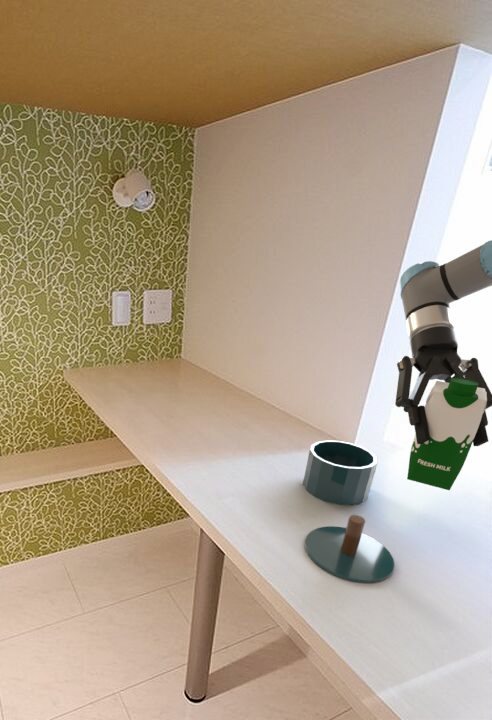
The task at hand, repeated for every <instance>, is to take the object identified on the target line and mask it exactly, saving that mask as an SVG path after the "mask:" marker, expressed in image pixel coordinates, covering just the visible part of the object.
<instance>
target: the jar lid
mask: <svg viewBox="0 0 492 720" xmlns="http://www.w3.org/2000/svg"><path fill="white" fill-rule="evenodd" d="M365 524H366V519H365V518H364V517H363V516H361V515H357V514H351V515H349V517H348V519H347V523H346V527H343V526H333V525H332V526H331V525H330V526H320V527H317V528H315V529H313V530H311V531H310V532H309V533H308V534H307V535H306V537H305V540H304V549H305V552H306V553H307V556H308V557H309V558H310V559H311V560H312V562H313V563H314V564H315V565H317V566H318V567H319V568H321V569H322V570H324V571H325V572H326V573H328V574H331V575H333V576H334V577H337V578H340V579H342V580H346V581H350V582H353V583H361V584H373V583H379V582H382V581H385V580H386V579H388V578H389V577H390V576H391V575H392V574H393V572H394V569H395V560H394V556H393V555H392V554H391V552H390V551H389V549H387V548H386V547H385V546H384V544H382V543H381V542H379V541H378V540H377V539H375V538H374V537H371V536H370V535H368V534H366V533H364V532H363V531H364V528H365Z"/></svg>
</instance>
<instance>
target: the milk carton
mask: <svg viewBox="0 0 492 720" xmlns="http://www.w3.org/2000/svg"><path fill="white" fill-rule="evenodd" d="M486 403H487V392H485V389H484V388H478V383H477V382H476V381H473V380H469V379H463V378H452V379H451V380H450V383H447V382H445V381H442V380H436V381H435V383H434V385H433V387H432V388H431V390H430V392H429V393H428V396H427V398H426V400H425V405H424V407H425V412H426V418H427V424H428V429H429V435H430V440H428V441H426V442H424V443H423V444H417V439H416V433H414V438H413V441H412V443H411V449H410V452H409V462H408V469H407V479H406V480H409V481H412V482H416V483H420V484H422V485H423V484H424V485H427V486H430V487H435V488H438V489H442V490H447V491H450V490H451V489H452V487H453V485H454V483H455V481H456V480H457V478H458V476H459V474H460V472H461V471H462V469H463V466H464V464H465V462H466V460H467V457H468V455H469V453H470V450H471V448H472V445H473V440H474V437H475V435H476V432H477V430H478V427H479V424H480V421H481V418H482V415H483V413H484V411H486V410H485V408H486Z"/></svg>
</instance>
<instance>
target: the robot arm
mask: <svg viewBox="0 0 492 720" xmlns="http://www.w3.org/2000/svg"><path fill="white" fill-rule="evenodd" d="M399 286H400V294H399V296H400V299H401V302H402V307H403V312H404V317H405V322H406V330H407V335H408V339H409V347H410V354H411V357H410V356H409V355H404V356H403V357H402V358H401V359H400V360H399V361H398V362H397V363H396V367H397V371H398V380H397V387H396V396H395V402H394V403H395V406H396V407H397V408H403V411H404V412H405V413H407V415H408V421H409V425H410V426H414V432H415V433H414V434H416V439H417V444H423V443H424V442H426V441H428V440H430V435H429V429H428V424H427V418H426V412H425V405H420V403H421V401H422V398H423V396H424V393H425V391H426V389H427V386H428V384H429V381H433V380H438V381H443V382H447V383H450V380H451V379H452V378H463V379H469V380H473V381H476V382H477V383H478V388H484V389H485V392H487V403H486V408H485V411H484V413H483V415H482V418H481V421H480V424H479V427H478V430H477V432H476V435H475V437H474V440H473V442H472V445H473V447H480V446H482V445H484V444H486V443H488V442H489V436H488V432H487V428H486V427H487V426H488V425H489V420H488V416H487V411H486V410H488V409H490V408H491V407H492V392H491V390H490V388H489V385H488V384H487V382H486V380H485V378H484V376H483V374H482V372H481V371H480V368H479V361H478V358H476V357H472V358H470V359H462V358H461V356H460V355H459V353H458V348H459V347H458V346H459V344H458V340H457V339H458V338H457V335H456V330H455V325H454V320H453V316H452V312H451V308H450V304H451V303H453V302H455V301H459V300H461V299H462V298H465V297H467V296H470V295H472V294H475V293H477V292H479V291H482V290H485V289H487V288H490V287H492V239H491V240H487V241H486V242H484V243H483V244H481V245H479V246H477V247H476V248H474V249H471V250H469V251H468V252H466V253H464V254H462V255H460V256H458V257H456V258H454V259H452V260H450V261H448V262H446V263H443V264H440V263H438V262H436V261H431V260H428V261H423V262H422V263H416V264H414V265H412V266H409V268H407V269H406V270H405V271H404V272H403V273H402V274H401V276H400V279H399ZM413 368H415V369H416V370H417V371H418V372H419V373H418V375H417V378H416V380H415V381H416V382H415V384H414V387H413V389H412V391H411V383H412V376H413V374H412V373H413ZM410 391H411V394H410Z"/></svg>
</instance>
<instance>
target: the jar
mask: <svg viewBox="0 0 492 720" xmlns="http://www.w3.org/2000/svg"><path fill="white" fill-rule="evenodd" d="M377 466H378V457H377V456H376V455H375V454H374V452H372V451H371V450H369V449H367V448H366V447H364V446H361V445H358V444H355V443H352V442H347V441H341V440H331V439H329V440H327V439H326V440H320V441H316V442H314V443H312V444H311V445H310V447H309V452H308V457H307V462H306V467H305V472H304V477H303V481H302V486H303V487H304V489H305V491H306V492H307V493H308V494H310V495H311V496H313V497H314V498H316V499H319V500H320V501H323V502H326V503H329V504H333V505H338V506H355V505H360V504H363V503H365V502H366V501H367V500H368V498H369V494H370V491H371V487H372V484H373V481H374V476H375V472H376V469H377Z"/></svg>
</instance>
